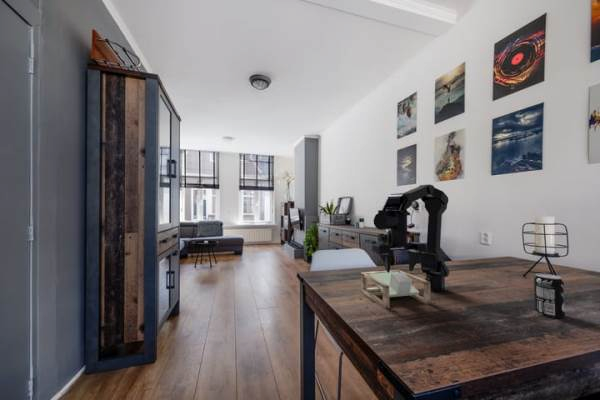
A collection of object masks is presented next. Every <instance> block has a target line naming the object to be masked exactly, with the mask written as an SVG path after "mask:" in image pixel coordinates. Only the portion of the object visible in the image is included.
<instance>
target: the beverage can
mask: <svg viewBox="0 0 600 400" xmlns="http://www.w3.org/2000/svg"><path fill="white" fill-rule="evenodd" d="M533 282H534V283H533V284H534V285H533V286H534V287H533V288H534V289H533V290H534V291H533V292H534V309H535V311H536V313H538V314H539V315H542V316H544V317H548V318H553V319H562V318H563V317H565V316H566V304H565V303H566V302H565V283H564V281H563V278H562V276H559V275H556V274H551V273H550V274H549V273H535V277H533Z"/></svg>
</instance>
